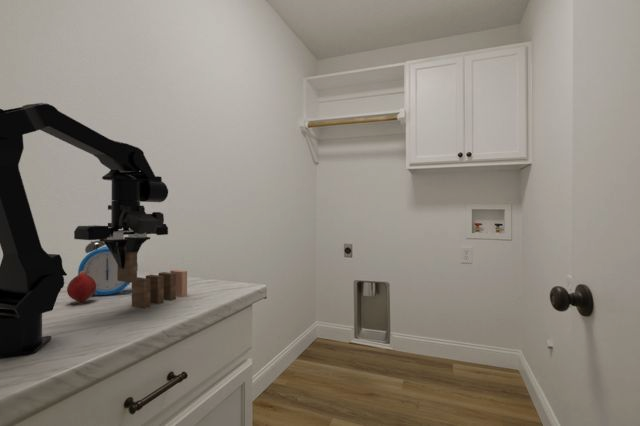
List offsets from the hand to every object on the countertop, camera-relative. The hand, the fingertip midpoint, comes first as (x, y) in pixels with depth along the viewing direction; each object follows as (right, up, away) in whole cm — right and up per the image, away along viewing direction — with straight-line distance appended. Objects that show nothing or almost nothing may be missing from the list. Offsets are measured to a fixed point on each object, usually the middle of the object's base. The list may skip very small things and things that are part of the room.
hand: (125, 267), depth 72 cm
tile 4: (+5, -10, +10) cm, 15 cm away
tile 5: (+6, -10, +14) cm, 18 cm away
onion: (-15, -10, +6) cm, 19 cm away
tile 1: (0, -3, 0) cm, 3 cm away
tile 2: (+2, -10, +3) cm, 11 cm away
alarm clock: (-14, -10, +15) cm, 23 cm away
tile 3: (+3, -10, +7) cm, 13 cm away
